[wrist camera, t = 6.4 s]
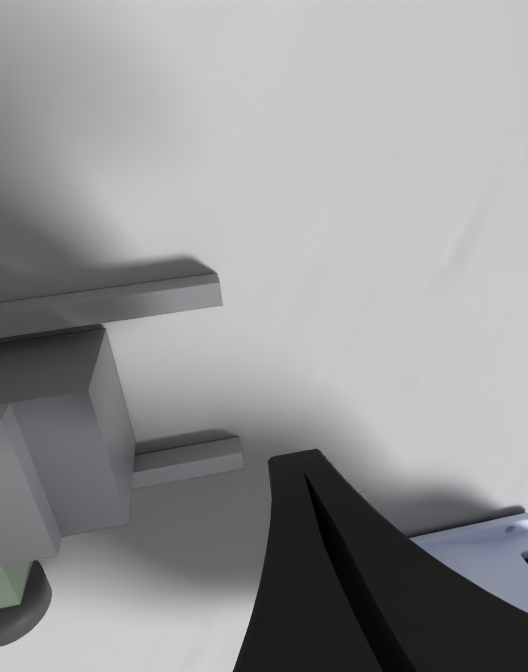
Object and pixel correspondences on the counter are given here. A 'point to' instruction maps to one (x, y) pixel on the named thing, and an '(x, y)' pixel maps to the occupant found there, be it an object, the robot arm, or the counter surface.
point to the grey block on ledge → (61, 443)
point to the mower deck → (149, 469)
